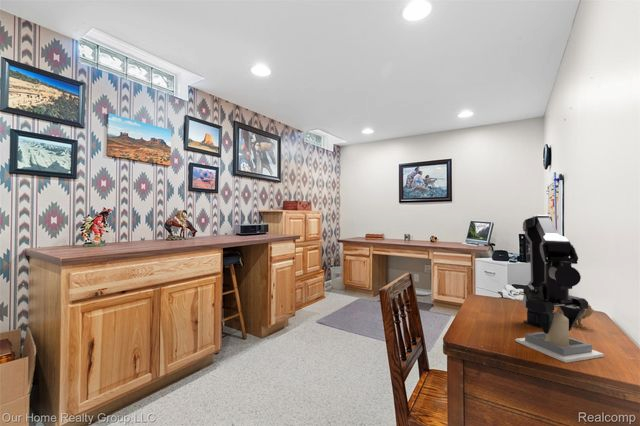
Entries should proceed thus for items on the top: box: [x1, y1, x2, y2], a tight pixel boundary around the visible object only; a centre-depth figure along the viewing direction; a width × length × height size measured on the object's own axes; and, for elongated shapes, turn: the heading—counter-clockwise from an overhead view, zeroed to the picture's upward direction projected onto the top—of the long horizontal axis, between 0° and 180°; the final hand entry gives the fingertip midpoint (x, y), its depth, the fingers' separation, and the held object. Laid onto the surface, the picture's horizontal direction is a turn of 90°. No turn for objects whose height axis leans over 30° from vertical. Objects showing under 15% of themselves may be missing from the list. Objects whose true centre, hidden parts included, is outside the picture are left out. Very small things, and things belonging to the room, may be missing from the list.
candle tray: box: [515, 331, 604, 364], centre depth 90 cm, size 15×15×3 cm
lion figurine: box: [556, 303, 595, 327], centre depth 115 cm, size 15×5×9 cm, turn 14°
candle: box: [546, 311, 570, 347], centre depth 90 cm, size 6×6×10 cm
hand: (556, 331), depth 90 cm, fingers open, 9 cm apart
